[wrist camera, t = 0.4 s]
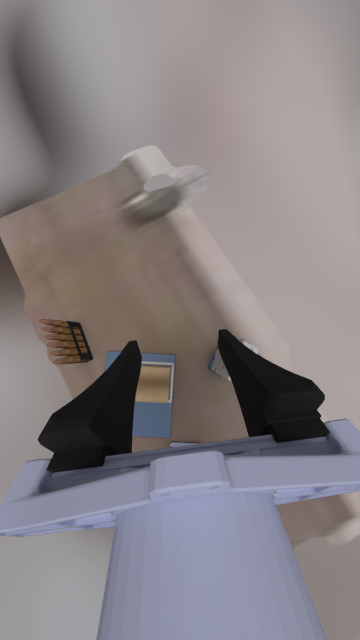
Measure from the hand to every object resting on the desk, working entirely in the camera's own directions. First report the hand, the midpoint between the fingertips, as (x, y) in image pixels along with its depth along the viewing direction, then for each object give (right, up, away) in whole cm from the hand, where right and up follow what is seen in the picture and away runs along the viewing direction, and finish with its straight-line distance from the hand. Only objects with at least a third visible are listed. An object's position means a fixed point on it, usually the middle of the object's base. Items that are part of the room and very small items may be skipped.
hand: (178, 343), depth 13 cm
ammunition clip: (-26, -4, +28) cm, 38 cm away
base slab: (-7, -14, +26) cm, 30 cm away
